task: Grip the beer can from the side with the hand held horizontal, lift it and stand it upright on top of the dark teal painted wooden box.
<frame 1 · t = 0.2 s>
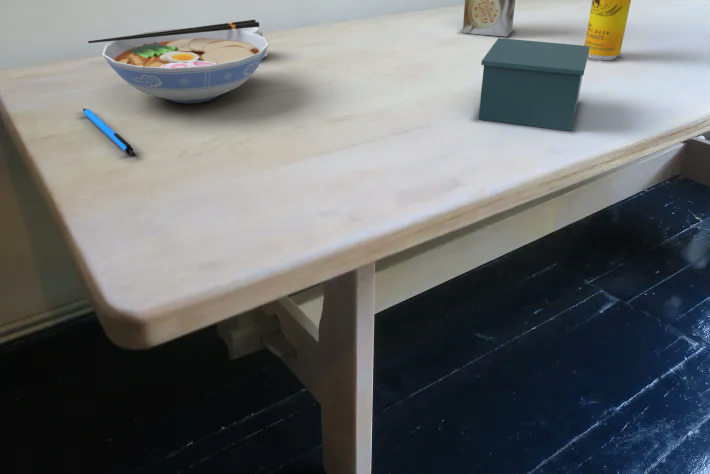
coffee box: (487, 32, 132), on the table
ramen bowl: (193, 97, 97), on the table
pen: (107, 134, 84), on the table
teal box: (529, 110, 92), on the table
beer can: (600, 57, 116), on the table
teacup: (239, 58, 115), on the table
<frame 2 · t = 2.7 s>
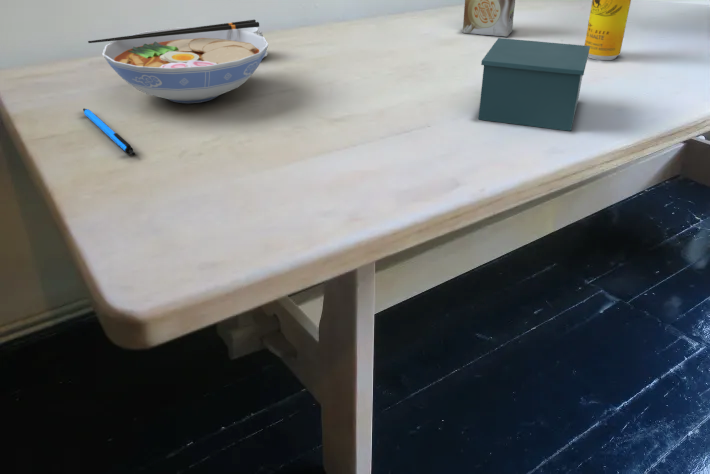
nothing on the table moved.
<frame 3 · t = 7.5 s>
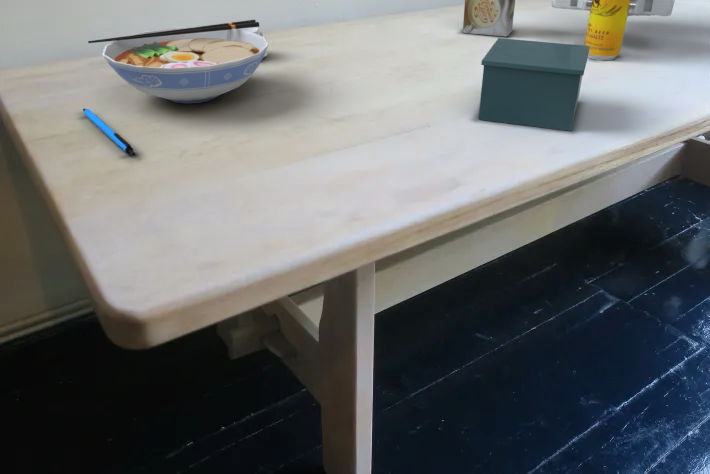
hand: (610, 7, 111), 8 cm above the table, tool horizontal, fingers closed on beer can, 6 cm apart
beer can: (600, 57, 116), on the table, touching gripper
everything else where it was.
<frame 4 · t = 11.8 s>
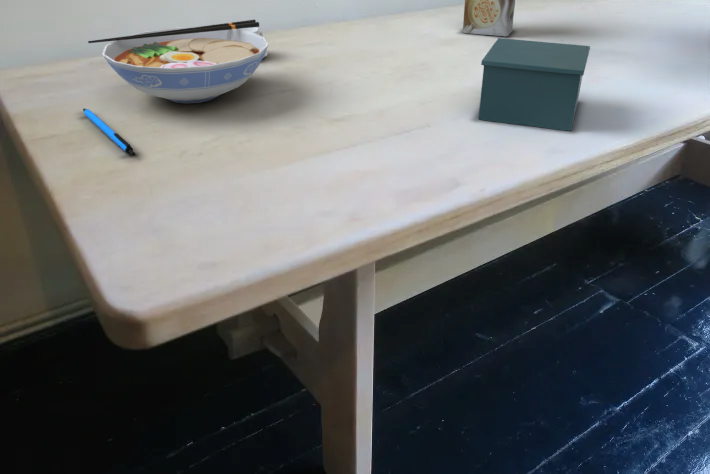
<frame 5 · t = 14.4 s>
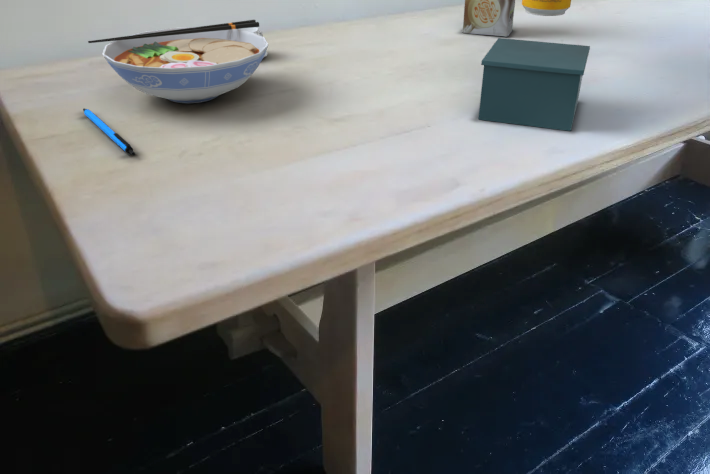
beer can: (544, 13, 86), point 13 cm above the table, touching gripper
everything else where it was.
when the fingers open (16 cm above the table, at t = 16.5 s): beer can stays where it is, resting on teal box.
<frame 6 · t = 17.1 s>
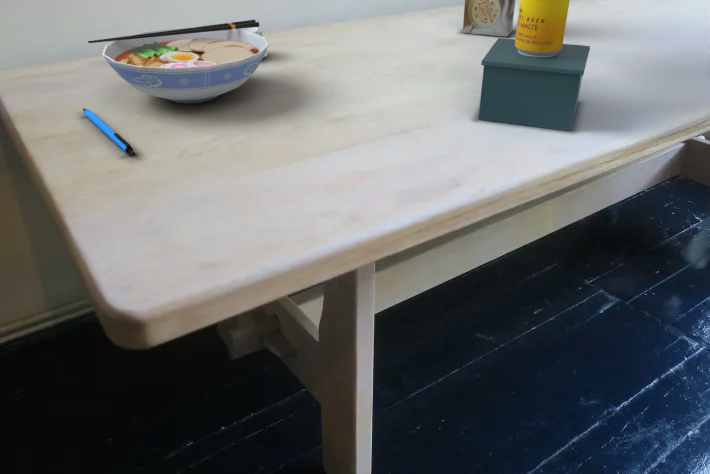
beer can: (537, 54, 88), point 8 cm above the table, touching teal box
everything else where it was.
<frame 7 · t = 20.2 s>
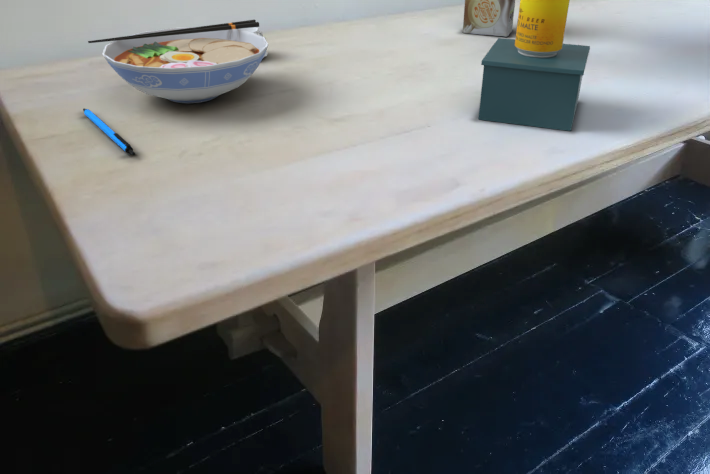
nothing on the table moved.
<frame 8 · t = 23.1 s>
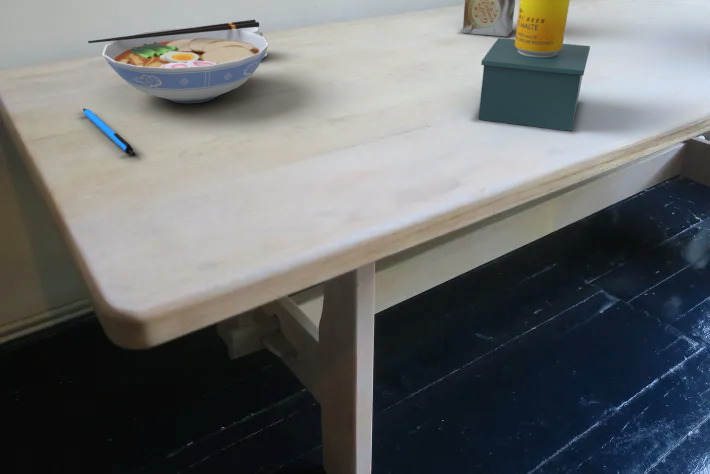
nothing on the table moved.
at the end: beer can inside the target area on the teal box (0.1 cm from its centre), point 7.8 cm above the teal box's base; beer can tilted 0°; the gripper is holding nothing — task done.
